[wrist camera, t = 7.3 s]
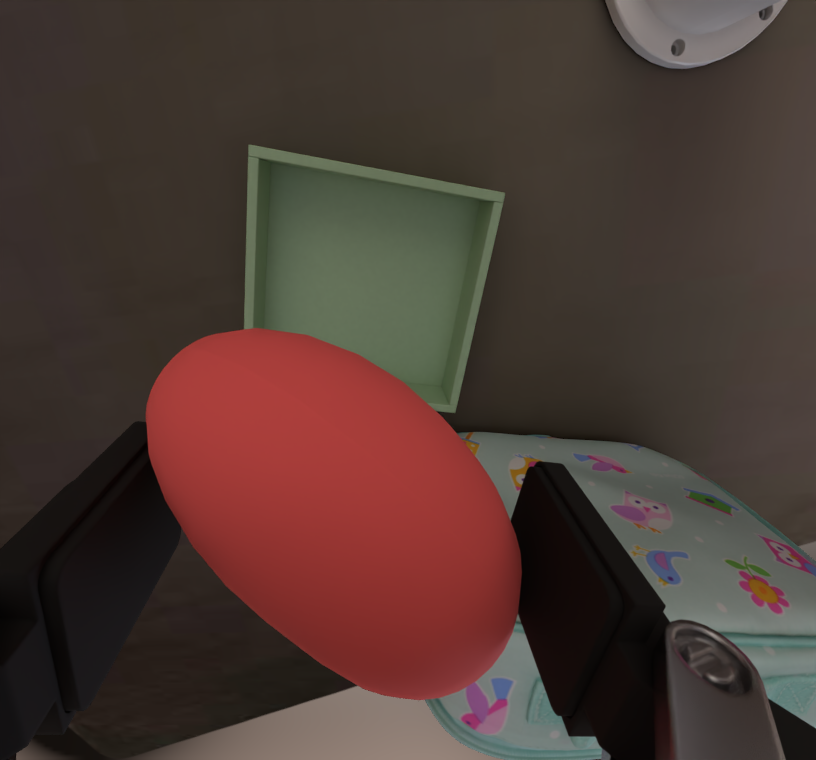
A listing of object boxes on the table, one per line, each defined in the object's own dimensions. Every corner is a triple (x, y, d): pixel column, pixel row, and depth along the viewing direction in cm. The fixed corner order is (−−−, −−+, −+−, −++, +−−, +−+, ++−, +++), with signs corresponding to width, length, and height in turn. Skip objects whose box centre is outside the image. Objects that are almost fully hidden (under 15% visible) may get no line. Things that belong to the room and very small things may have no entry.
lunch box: (379, 514, 40) (392, 825, 20) (392, 414, 36) (425, 677, 16) (644, 527, 43) (879, 800, 24) (682, 437, 39) (1000, 674, 20)
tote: (262, 151, 28) (248, 144, 24) (489, 193, 30) (505, 192, 26) (255, 370, 33) (242, 390, 30) (446, 392, 35) (455, 413, 32)
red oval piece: (442, 260, 10) (259, 234, 5) (587, 594, 11) (574, 940, 5) (291, 343, 13) (48, 390, 7) (413, 616, 13) (272, 871, 7)
